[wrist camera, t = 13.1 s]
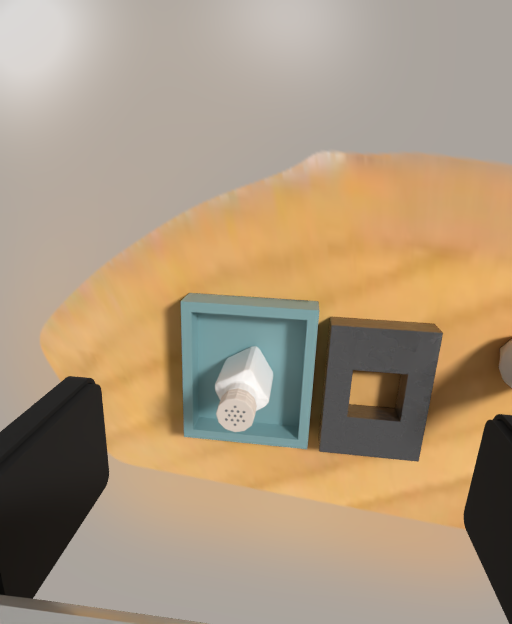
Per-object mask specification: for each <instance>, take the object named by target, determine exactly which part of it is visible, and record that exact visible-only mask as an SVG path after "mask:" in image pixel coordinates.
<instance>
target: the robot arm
mask: <svg viewBox="0 0 512 624" xmlns="http://www.w3.org/2000/svg"><path fill="white" fill-rule="evenodd" d="M108 478H109V466H108V455H107V445H106V434H105V424H104V413H103V403H102V392H101V387H100V386H99V385H98V384H95V382H94V380H93V379H92V378H84V377H72V376H69V377H67V378H65V379H64V380H63V381H62V382H60V383H59V384H58V385H57V386H56V387H54V388H53V389H52V390H51V391H50V392H48V393H47V394H46V395H45V396H44V397H42V398H41V399H40V400H39V401H37V402H36V403H35V404H34V405H32V406H31V407H30V408H29V409H28V410H27V411H25V412H24V413H23V414H22V415H20V416H19V417H18V418H17V419H15V420H14V421H13V422H12V423H11V424H9V425H8V426H7V427H6V428H5V429H3V430H2V431H1V432H0V624H207V623H201V622H194V621H187V620H180V619H173V618H166V617H159V616H152V615H145V614H138V613H130V612H123V611H116V610H108V609H102V608H95V607H87V606H80V605H73V604H66V603H59V602H52V601H45V600H37V599H33V597H34V596H35V594H36V593H37V591H38V590H39V588H40V587H41V585H42V584H43V582H44V581H45V579H46V577H47V576H48V574H49V573H50V571H51V570H52V568H53V566H54V565H55V564H56V562H57V561H58V559H59V557H60V556H61V554H62V553H63V551H64V550H65V548H66V547H67V545H68V544H69V542H70V541H71V539H72V538H73V536H74V534H75V533H76V532H77V530H78V528H79V527H80V525H81V524H82V522H83V521H84V519H85V518H86V516H87V515H88V513H89V512H90V510H91V509H92V507H93V506H94V504H95V502H96V501H97V499H98V498H99V496H100V495H101V493H102V492H103V490H104V489H105V487H106V485H107V482H108ZM464 524H465V528H466V531H467V532H468V535H469V537H470V539H471V541H472V543H473V546H474V548H475V550H476V552H477V555H478V557H479V559H480V561H481V563H482V565H483V567H484V570H485V572H486V574H487V576H488V578H489V581H490V583H491V585H492V587H493V589H494V591H495V594H496V596H497V598H498V600H499V602H500V604H501V607H502V609H503V611H504V613H505V615H506V617H507V620H508V622H509V624H512V415H502V414H498V415H496V416H495V417H494V419H493V420H488V421H487V422H486V424H485V428H484V432H483V436H482V440H481V444H480V448H479V452H478V456H477V460H476V465H475V469H474V473H473V477H472V481H471V485H470V489H469V493H468V497H467V502H466V506H465V510H464Z"/></svg>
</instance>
